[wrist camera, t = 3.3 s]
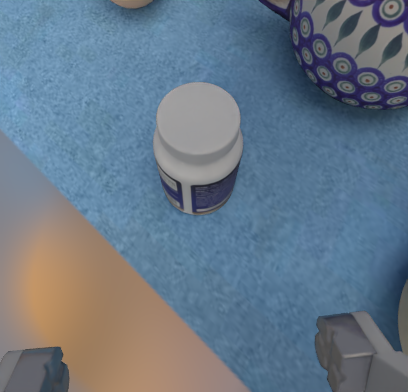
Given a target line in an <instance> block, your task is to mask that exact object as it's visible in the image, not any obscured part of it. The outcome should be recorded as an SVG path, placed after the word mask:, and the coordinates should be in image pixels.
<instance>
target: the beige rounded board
mask: <svg viewBox="0 0 408 392" xmlns="http://www.w3.org/2000/svg"><path fill="white" fill-rule="evenodd" d="M398 329H399V337H400V342H401V346H402V350H403V353H404V354H406V355H407V356H408V279H407V281H406V283H405V286H404V288H403V290H402V294H401V298H400V302H399V310H398Z"/></svg>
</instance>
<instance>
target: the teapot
mask: <svg viewBox="0 0 408 392" xmlns="http://www.w3.org/2000/svg"><path fill="white" fill-rule="evenodd" d="M259 1H260V2H261V3H262V4H264V5H265V6H267V7H268V8H269V9H271V10H272V11H274V12H275V13H277V14H279V15H280V16H282V17H283V18H285V19H286V20H288V21H289V22H290V38H291V42H292V46H293V50H294V54H295V56H296V58H297V60H298V62H299V64H300V66H301V67H302V69H303V70H304V72H305V73H306V74H307V75H308V77H309V78H310V79H311V80H312V81H313V82H314V83H315V84H316V85H317V86H318V87H319V88H320V89H322V90H323V91H324V92H325V93H327V94H328V95H330V96H331V97H333V98H335V99H337V100H339V101H341V102H343V103H346V104H349V105H352V106H355V107H360V108H366V109H379V110H385V109H397V108H401V107H406V106H408V0H259Z"/></svg>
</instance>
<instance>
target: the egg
mask: <svg viewBox="0 0 408 392" xmlns="http://www.w3.org/2000/svg"><path fill="white" fill-rule="evenodd" d="M111 1H112V2H114V3H115V4H117V5H119V6H122V7H125V8H133V9H136V8H140V7H144V6H146V5H148V4H149V3H151V2H152V1H153V0H111Z"/></svg>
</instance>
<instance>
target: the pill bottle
mask: <svg viewBox="0 0 408 392" xmlns="http://www.w3.org/2000/svg"><path fill="white" fill-rule="evenodd" d="M240 119H241V118H240V111H239V108H238V105H237V103H236V102H235V100H234V99H233V97H232V96H231V95H230V94H229V93H228V92H227V91H225V90H224V89H222V88H220V87H218V86H216V85H213V84H210V83H205V82H193V83H187V84H184V85H181V86H179V87H177V88H175V89H173V90H172V91H170V92H169V93H168V94H167V95H166V96H165V97H164V98H163V100H162V101H161V103H160V105H159V107H158V110H157V114H156V124H157V127H156V130H155V133H154V138H153V150H154V155H155V159H156V163H157V167H158V171H159V174H160V178H161V182H162V186H163V189H164V192H165V194H166V196H167V198H168V200H169V201H170V202H171V203H172V204H173V205H174V206H175V207H176V208H177V209H179V210H181V211H183V212H185V213H188V214H192V215H204V214H209V213H212V212H214V211H216V210H218V209H219V208H221V207H222V206H223V205H224V204H225V203H226V202H227V201H228V199H229V197H230V196H231V193H232V191H233V188H234V183H235V179H236V175H237V172H238V167H239V164H240V160H241V156H242V152H243V137H242V132H241V129H240Z"/></svg>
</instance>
